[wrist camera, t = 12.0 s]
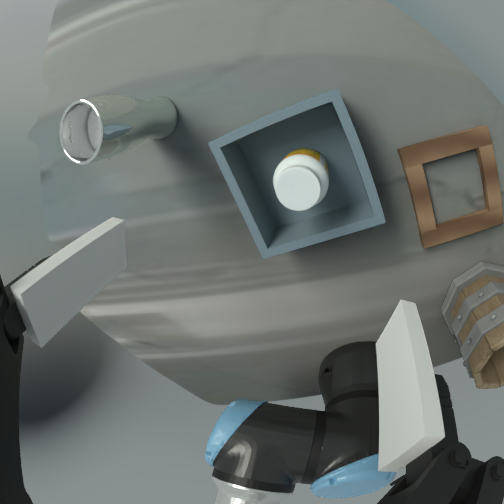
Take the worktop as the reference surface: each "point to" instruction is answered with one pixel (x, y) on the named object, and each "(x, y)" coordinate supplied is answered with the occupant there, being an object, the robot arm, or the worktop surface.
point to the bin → (275, 150)
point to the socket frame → (419, 191)
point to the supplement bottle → (301, 179)
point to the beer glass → (113, 125)
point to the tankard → (479, 322)
